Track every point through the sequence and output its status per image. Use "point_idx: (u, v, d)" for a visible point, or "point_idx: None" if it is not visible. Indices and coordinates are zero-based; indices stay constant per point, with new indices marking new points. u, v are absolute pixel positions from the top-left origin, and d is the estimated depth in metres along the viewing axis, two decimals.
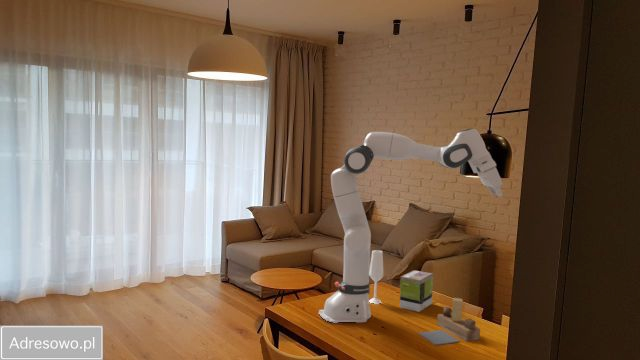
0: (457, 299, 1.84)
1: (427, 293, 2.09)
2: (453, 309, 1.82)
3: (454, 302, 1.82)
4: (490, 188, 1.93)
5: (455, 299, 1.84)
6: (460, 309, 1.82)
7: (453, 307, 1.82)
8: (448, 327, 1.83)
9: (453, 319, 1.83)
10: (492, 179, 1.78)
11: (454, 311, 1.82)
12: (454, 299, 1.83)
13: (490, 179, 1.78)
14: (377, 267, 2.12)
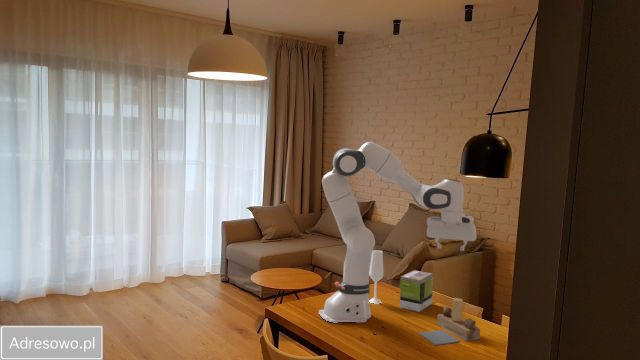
0: (457, 299, 1.84)
1: (427, 293, 2.09)
2: (453, 309, 1.82)
3: (454, 302, 1.82)
4: (437, 242, 1.97)
5: (455, 299, 1.84)
6: (460, 309, 1.82)
7: (453, 307, 1.82)
8: (448, 327, 1.83)
9: (453, 319, 1.83)
10: (475, 232, 1.90)
11: (454, 311, 1.82)
12: (454, 299, 1.83)
13: (475, 232, 1.90)
14: (377, 267, 2.12)
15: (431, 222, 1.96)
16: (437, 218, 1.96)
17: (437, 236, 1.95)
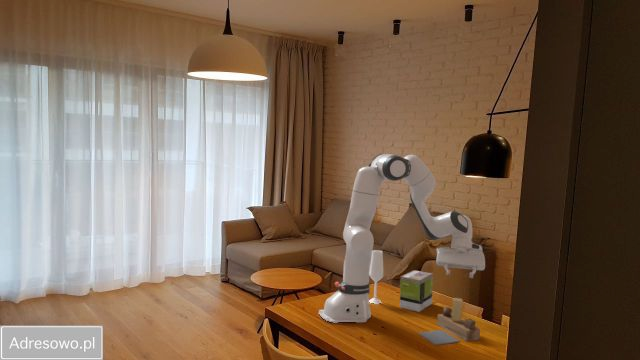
0: (457, 299, 1.84)
1: (427, 293, 2.09)
2: (453, 309, 1.82)
3: (454, 302, 1.82)
4: None
5: (455, 299, 1.84)
6: (460, 309, 1.82)
7: (453, 307, 1.82)
8: (448, 327, 1.83)
9: (453, 319, 1.83)
10: (484, 260, 1.96)
11: (454, 311, 1.82)
12: (454, 299, 1.83)
13: (484, 259, 1.96)
14: (377, 267, 2.12)
15: (441, 249, 2.03)
16: (447, 248, 2.04)
17: (447, 261, 1.99)
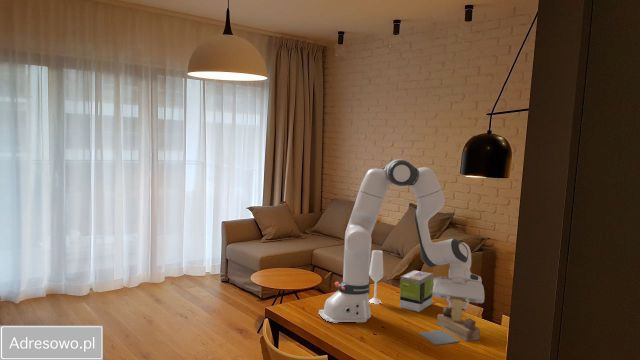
0: (457, 299, 1.84)
1: (427, 293, 2.09)
2: (453, 309, 1.82)
3: (454, 302, 1.82)
4: None
5: (455, 299, 1.84)
6: (460, 309, 1.82)
7: (453, 307, 1.82)
8: (448, 327, 1.83)
9: (453, 319, 1.83)
10: None
11: (454, 311, 1.82)
12: (454, 299, 1.83)
13: (483, 291, 1.84)
14: (377, 267, 2.12)
15: (438, 279, 1.91)
16: (444, 278, 1.93)
17: (444, 292, 1.87)
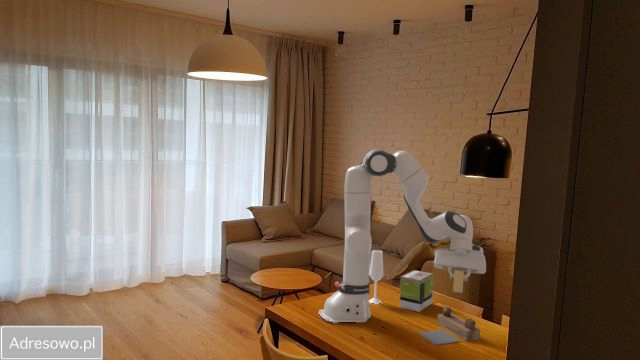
0: (459, 269, 1.83)
1: (427, 293, 2.09)
2: (454, 279, 1.82)
3: (456, 272, 1.81)
4: None
5: (457, 269, 1.83)
6: (462, 279, 1.81)
7: (454, 277, 1.82)
8: (448, 327, 1.83)
9: (454, 289, 1.82)
10: (485, 263, 1.84)
11: (455, 281, 1.82)
12: (456, 269, 1.83)
13: (485, 261, 1.84)
14: (377, 267, 2.12)
15: (440, 251, 1.91)
16: (445, 249, 1.92)
17: (445, 263, 1.86)
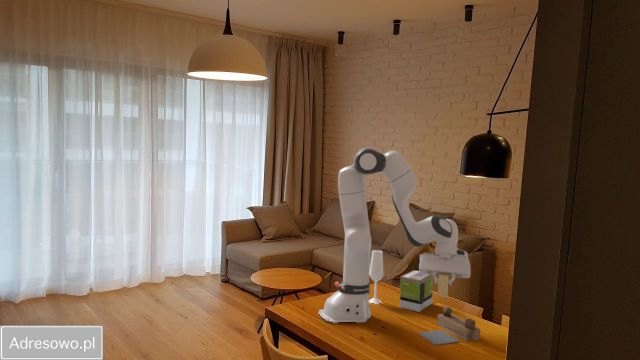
0: (443, 274, 1.82)
1: (427, 293, 2.09)
2: (439, 284, 1.81)
3: (440, 277, 1.81)
4: None
5: (441, 274, 1.82)
6: (446, 284, 1.80)
7: (439, 282, 1.81)
8: (448, 327, 1.83)
9: (439, 294, 1.81)
10: None
11: (440, 286, 1.81)
12: (440, 274, 1.82)
13: None
14: (377, 267, 2.12)
15: (424, 255, 1.90)
16: (431, 254, 1.92)
17: (430, 268, 1.86)
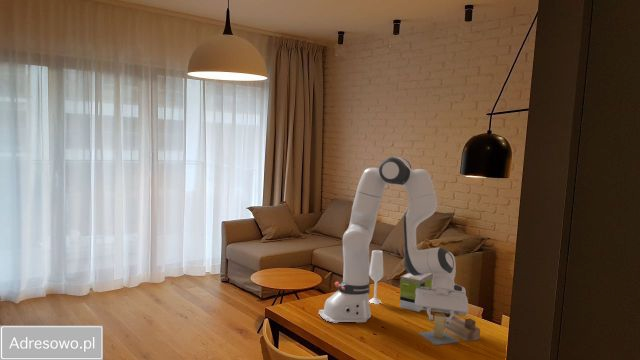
0: (439, 314, 1.75)
1: None
2: (435, 325, 1.74)
3: (436, 318, 1.74)
4: (429, 313, 1.78)
5: (437, 314, 1.75)
6: (442, 325, 1.73)
7: (435, 323, 1.74)
8: (448, 327, 1.83)
9: (435, 335, 1.74)
10: (467, 304, 1.76)
11: (436, 327, 1.74)
12: (436, 314, 1.75)
13: (467, 302, 1.76)
14: (377, 267, 2.12)
15: (420, 290, 1.83)
16: (427, 288, 1.84)
17: (426, 304, 1.79)
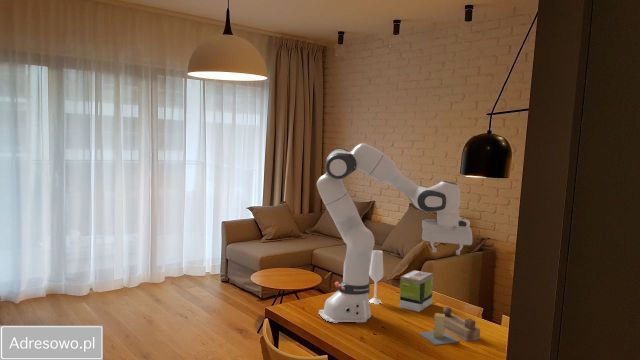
0: (439, 314, 1.75)
1: (427, 293, 2.09)
2: (435, 325, 1.74)
3: (436, 318, 1.74)
4: None
5: (437, 314, 1.75)
6: (442, 325, 1.73)
7: (435, 323, 1.74)
8: (448, 327, 1.83)
9: (435, 335, 1.74)
10: None
11: (436, 327, 1.74)
12: (436, 314, 1.75)
13: None
14: (377, 267, 2.12)
15: (426, 225, 1.91)
16: (433, 221, 1.91)
17: (432, 240, 1.91)
